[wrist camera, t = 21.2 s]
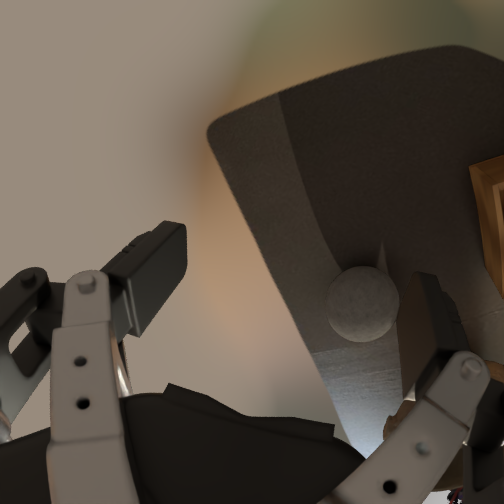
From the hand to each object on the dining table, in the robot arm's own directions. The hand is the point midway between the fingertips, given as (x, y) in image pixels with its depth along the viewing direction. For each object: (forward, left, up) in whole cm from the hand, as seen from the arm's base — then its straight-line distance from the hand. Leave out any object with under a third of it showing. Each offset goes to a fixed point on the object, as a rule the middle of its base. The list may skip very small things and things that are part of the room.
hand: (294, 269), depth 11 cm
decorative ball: (+20, -8, -30) cm, 37 cm away
